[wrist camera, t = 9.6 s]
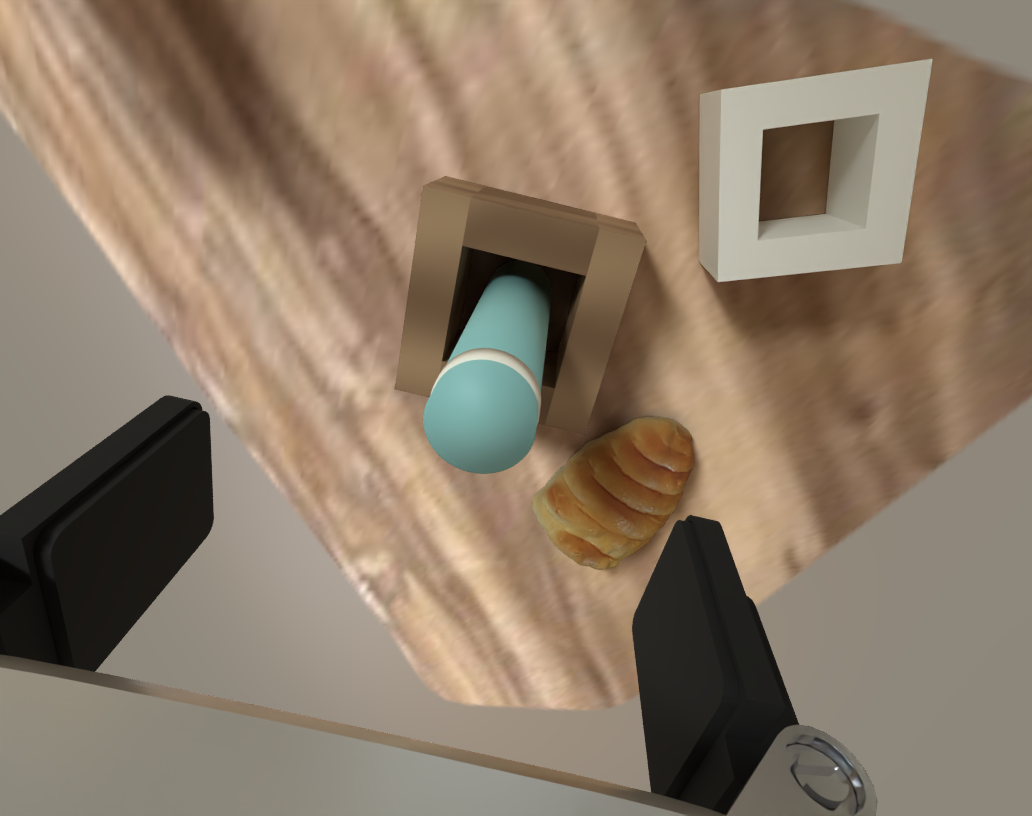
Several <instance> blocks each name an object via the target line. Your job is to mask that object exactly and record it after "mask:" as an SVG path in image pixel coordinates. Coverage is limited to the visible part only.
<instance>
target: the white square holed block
mask: <svg viewBox="0 0 1032 816" xmlns="http://www.w3.org/2000/svg"><path fill="white" fill-rule="evenodd" d="M932 60H933V59H927V60H920V61H913V62H906V63H899V64H893V65H886V66H879V67H872V68H865V69H859V70H852V71H845V72H838V73H831V74H824V75H818V76H811V77H804V78H797V79H790V80H784V81H777V82H770V83H763V84H756V85H749V86H743V87H736V88H729V89H722V90H717V91H712V92H708V93H703V94H700V124H699V262H700V263H701V264H702V265H703V266H704V267H705V269H706V270H707V271H708V272H709V273H710V274H711V275H712V276H713V277H714V279H715V280H716V281H717V282H724V281H734V280H743V279H753V278H762V277H772V276H782V275H791V274H801V273H810V272H820V271H830V270H839V269H849V268H858V267H868V266H878V265H887V264H897V263H902V257H903V250H904V243H905V237H906V230H907V224H908V217H909V211H910V204H911V198H912V191H913V184H914V178H915V171H916V165H917V158H918V152H919V145H920V139H921V132H922V126H923V119H924V112H925V106H926V99H927V93H928V86H929V80H930V73H931V67H932ZM829 120H834V129H833V140H832V150H831V161H830V172H829V182H828V193H827V204H826V214H820V215H811V216H802V217H794V218H785V219H777V220H768V221H759V202H760V180H761V159H762V137H763V129H771V128H778V127H785V126H793V125H800V124H807V123H815V122H822V121H829Z"/></svg>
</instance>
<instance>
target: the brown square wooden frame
mask: <svg viewBox="0 0 1032 816" xmlns="http://www.w3.org/2000/svg"><path fill="white" fill-rule="evenodd" d="M645 243H646V239H645V238H644V236H643V234H642V233H641V231H640V230H639V228H638V226H637V225H636V223H634V222H630V221H626V220H622V219H618V218H614V217H610V216H606V215H601V214H597V213H593V212H589V211H585V210H581V209H577V208H573V207H569V206H565V205H561V204H557V203H553V202H549V201H545V200H541V199H536V198H532V197H528V196H524V195H520V194H516V193H512V192H508V191H504V190H500V189H496V188H492V187H488V186H484V185H480V184H476V183H471V182H467V181H463V180H459V179H455V178H451V177H447V176H445V177H442V178H440V179H438V180H436V181H433V182H431V183H429V184H426V185H424V186H423V191H422V199H421V206H420V213H419V220H418V227H417V234H416V241H415V249H414V256H413V263H412V270H411V277H410V284H409V291H408V299H407V306H406V313H405V320H404V327H403V334H402V341H401V349H400V356H399V363H398V370H397V377H396V384H395V389H396V390H400V391H404V392H409V393H413V394H417V395H421V396H426V397H430V395H431V391H432V388H433V386H434V384H435V382H436V380H437V378H438V376H439V374H440V372H441V371H442V369H443V368H444V367H445V365H446V364H447V362H448V360H449V358H450V356H451V354H452V353H453V351H454V349H455V347H456V345H457V343H458V341H459V339H460V337H461V335H462V333H463V331H464V330H460V329H459V328H460V322H461V317H462V311H463V306H464V301H465V295H466V290H467V285H468V279H469V274H470V268H471V263H472V258H473V252H474V249H478V250H482V251H486V252H490V253H494V254H498V255H502V256H507V257H511V258H515V259H519V260H523V261H527V262H531V263H535V264H539V265H543V266H548V267H552V268H556V269H560V270H564V271H568V272H572V273H576V274H579V275H578V279H577V283H576V286H575V290H574V294H573V297H572V301H571V305H570V308H569V312H568V316H567V319H566V323H565V327H564V330H563V334H562V338H561V341H560V345H559V349H558V352H557V353H556V352H552V351H547V350H546V351H545V359H544V368H543V376H542V385H541V407H540V416H539V422H538V423H539V424H543V425H547V426H552V427H556V428H560V429H564V430H568V431H573V432H577V433H581V434H585V432H586V429H587V426H588V423H589V420H590V417H591V413H592V410H593V407H594V404H595V401H596V398H597V395H598V391H599V388H600V385H601V382H602V379H603V376H604V373H605V369H606V366H607V363H608V360H609V357H610V354H611V350H612V347H613V344H614V341H615V338H616V335H617V332H618V328H619V325H620V322H621V319H622V316H623V313H624V310H625V306H626V303H627V300H628V297H629V294H630V291H631V287H632V284H633V281H634V278H635V275H636V272H637V269H638V265H639V262H640V259H641V256H642V253H643V250H644V247H645Z"/></svg>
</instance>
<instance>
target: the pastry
mask: <svg viewBox="0 0 1032 816" xmlns="http://www.w3.org/2000/svg"><path fill="white" fill-rule="evenodd" d="M691 440H692V438H691V435H690V433H689V431H688V430H687V429H686V428H684V427H683V426H682V425H681V424H679V423H678V422H676V421H674V420H671V419H668V418H662V417H652V416H646V417H642V418H635V419H634V420H632V421H631V422H629V423H628V424H626V425H623V426H621V427H619V428H618V429H616V430H614V431H611V432H608V433H606V434H604V435H603V436H602V437H600V438H596V439H593V440H591V441H588V442H586V444H585V445H584V446H583V448H582V449H581V450H579V451H578V452H576V453H575V454H574V455H572V456H571V457H570V458H569V460H568V462H567V463H566V464H565V465H564V466H562V467H561V468H560V469H559V470H558V471H557V472H556V473H555V474H554V475H553V476H552V477H551V479H550V480H549V481H548V482H547V483H546V486H544V487H543V488H542V489H541V490H540V491H539V492H538V493H536V494H535V496H534V497H533V499H532V509H533V511H534V513H535V515H536V516H537V518H538V521H539V524H540V525H541V526H542V528H543V529H545V530H546V532H547V534H548V537H549V538H550V540H551V542H552V543H553V544H554V545H555V546H556V547H557V548H558V549H559V550H561V551H562V552H563V553H564V554H565V555H567V556H568V557H569V558H571V559H572V560H574V561H575V562H577V563H578V564H579V565H582V566H590V567H592V568H594V569H598V570H603V569H608V568H613V567H616V566H617V564H618V563H619V561H621V560H622V559H623V558H625V557H627V556H629V555H630V554H632V553H634V552H635V551H637V550H638V549H640V548H642V547H643V546H644V545H646V544H647V543H648V542H649V541H650V539H651V538H652V537H653V536H654V534H655V533H656V531H657V530H659V529H660V528H661V527H662V526H663V525H664V524H665V522H666V521H667V520H668V518H669V516H670V514H671V513H672V512H674V510H675V508H676V505H677V502H678V501H679V499H680V498H681V496H682V494H683V487H684V486H685V482H686V481H687V479H688V477H689V474H690V473H691V471H692V469H693V468H694V464H695V463H694V452H693V448H692V444H691Z"/></svg>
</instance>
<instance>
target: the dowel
mask: <svg viewBox="0 0 1032 816" xmlns="http://www.w3.org/2000/svg"><path fill="white" fill-rule="evenodd" d="M551 300H552V287H551V283H550V280H549V278H548V277H547V275H546V274H545V272H544V271H543V270H542V269H541V268H539V267H538V266H537V265H535V264H533V263H530V262H527V261H519V260H518V261H511V262H508V263H506V264H504V265H502V266H501V267H499V268H498V269H497V270H496V271H495V272H494V274H493V275H492V277H491V279H490V281H489V283H488V284H487V286H486V288H485V290H484V292H483V294H482V296H481V298H480V300H479V302H478V304H477V306H476V308H475V310H474V312H473V314H472V316H471V318H470V319H469V321H468V323H467V325H466V327H465V329H464V331H463V333H462V335H461V337H460V339H459V341H458V343H457V345H456V347H455V349H454V351H453V353H452V354H451V356H450V358H449V360H448V362H447V364H446V365H445V367H444V368H443V369H442V371H441V372H440V374H439V376H438V378H437V380H436V382H435V384H434V386H433V388H432V391H431V395H430V397H429V399H428V401H427V404H426V406H425V410H424V418H423V421H424V429H425V433H426V436H427V439H428V441H429V443H430V445H431V446H432V447H433V449H434V450H435V451H436V453H437V454H438V455H439V456H440V457H441V458H443V459H444V460H445V461H446V462H448V463H449V464H451V465H453V466H454V467H456V468H459V469H461V470H464V471H467V472H472V473H480V474H488V473H496V472H500V471H504V470H506V469H508V468H511V467H512V466H514V465H516V464H517V463H518V462H520V461H521V460H522V459H523V458H524V457H525V456H526V455H527V453H528V452H529V450H530V449H531V447H532V445H533V442H534V439H535V435H536V428H537V425H538V422H539V416H540V407H541V385H542V376H543V368H544V359H545V351H546V342H547V334H548V325H549V317H550V308H551Z"/></svg>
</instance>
